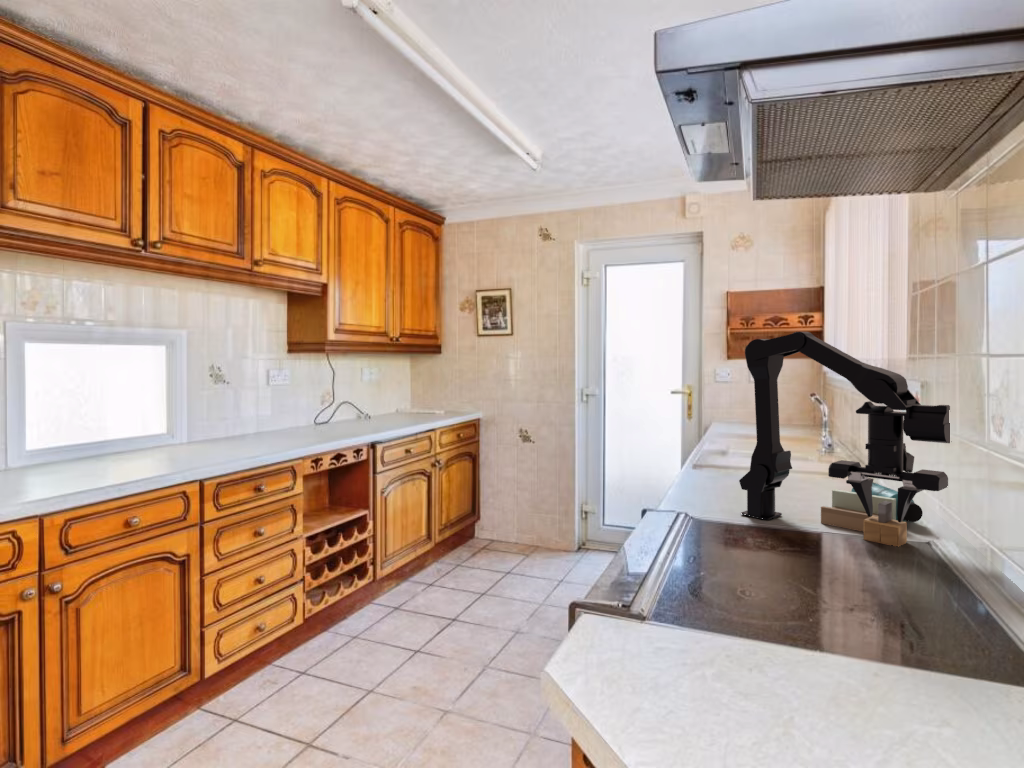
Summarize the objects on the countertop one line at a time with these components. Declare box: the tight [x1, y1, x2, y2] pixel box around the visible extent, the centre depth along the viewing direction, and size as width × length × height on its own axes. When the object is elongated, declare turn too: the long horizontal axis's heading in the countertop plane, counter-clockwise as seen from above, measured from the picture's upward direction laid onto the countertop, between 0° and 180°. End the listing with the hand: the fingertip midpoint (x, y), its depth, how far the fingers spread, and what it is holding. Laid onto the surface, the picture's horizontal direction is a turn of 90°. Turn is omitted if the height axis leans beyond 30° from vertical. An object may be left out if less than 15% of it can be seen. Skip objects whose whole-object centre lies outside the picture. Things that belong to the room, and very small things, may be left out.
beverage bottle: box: [850, 482, 923, 523], centre depth 130 cm, size 6×7×20 cm
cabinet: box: [863, 501, 908, 548], centre depth 112 cm, size 4×6×8 cm
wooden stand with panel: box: [820, 489, 896, 533], centre depth 123 cm, size 8×12×6 cm, turn 38°
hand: (885, 519), depth 113 cm, fingers open, 5 cm apart
